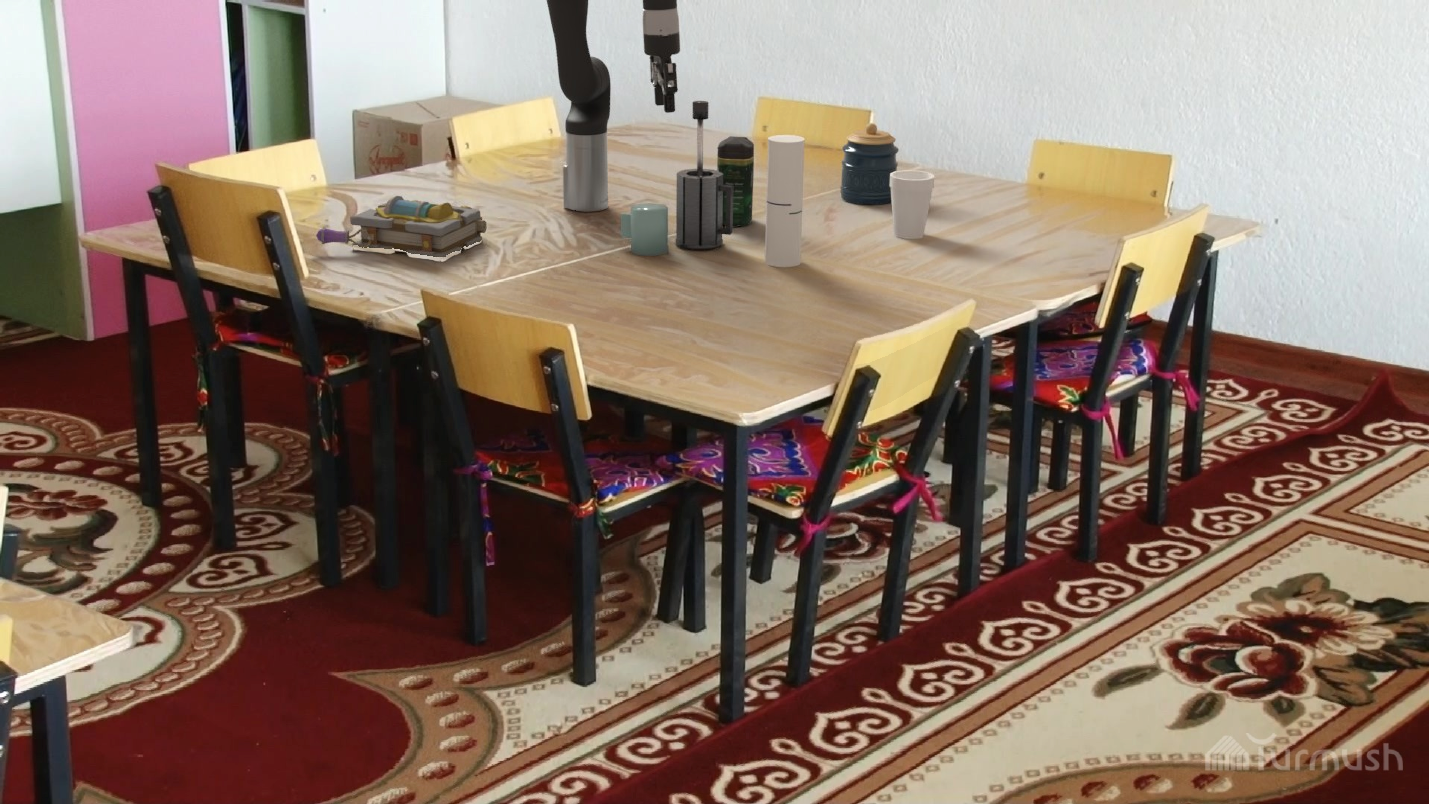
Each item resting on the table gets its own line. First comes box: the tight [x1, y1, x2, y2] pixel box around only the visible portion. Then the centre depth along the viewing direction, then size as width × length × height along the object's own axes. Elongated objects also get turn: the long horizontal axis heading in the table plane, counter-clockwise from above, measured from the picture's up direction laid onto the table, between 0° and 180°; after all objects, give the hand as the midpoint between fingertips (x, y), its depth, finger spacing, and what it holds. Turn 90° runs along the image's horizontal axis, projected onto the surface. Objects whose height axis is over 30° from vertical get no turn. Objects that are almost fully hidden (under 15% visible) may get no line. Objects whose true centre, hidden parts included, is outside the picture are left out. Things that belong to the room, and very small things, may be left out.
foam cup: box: [890, 169, 935, 240], centre depth 335 cm, size 10×9×13 cm
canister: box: [840, 122, 900, 206], centre depth 363 cm, size 13×13×18 cm
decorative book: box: [315, 195, 488, 257], centre depth 322 cm, size 25×27×10 cm
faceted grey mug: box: [675, 168, 734, 252], centre depth 325 cm, size 12×10×15 cm
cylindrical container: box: [764, 134, 806, 268], centre depth 312 cm, size 7×7×25 cm
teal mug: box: [620, 202, 669, 257], centre depth 322 cm, size 10×8×9 cm
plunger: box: [692, 100, 709, 177], centre depth 320 cm, size 4×4×18 cm
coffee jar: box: [716, 135, 755, 228], centre depth 342 cm, size 10×8×19 cm
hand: (665, 108), depth 333 cm, fingers open, 8 cm apart
